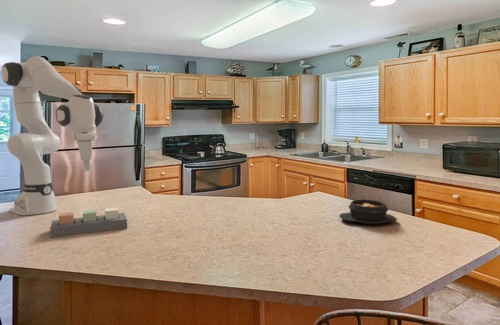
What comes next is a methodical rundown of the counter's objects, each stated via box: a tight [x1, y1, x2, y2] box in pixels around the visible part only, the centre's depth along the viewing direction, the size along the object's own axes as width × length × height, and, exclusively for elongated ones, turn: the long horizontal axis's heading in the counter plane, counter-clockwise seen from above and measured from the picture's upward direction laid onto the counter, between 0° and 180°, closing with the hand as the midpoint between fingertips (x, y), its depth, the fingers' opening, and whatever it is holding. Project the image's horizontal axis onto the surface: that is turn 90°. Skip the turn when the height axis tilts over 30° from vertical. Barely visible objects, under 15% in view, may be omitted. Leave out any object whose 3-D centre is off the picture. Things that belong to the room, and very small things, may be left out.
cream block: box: [104, 207, 119, 220], centre depth 148 cm, size 5×5×5 cm
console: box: [49, 212, 128, 239], centre depth 145 cm, size 28×11×4 cm, turn 116°
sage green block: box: [82, 209, 97, 223], centre depth 144 cm, size 5×5×5 cm
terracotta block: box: [58, 211, 75, 225], centre depth 141 cm, size 5×5×5 cm
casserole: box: [338, 199, 398, 226], centre depth 157 cm, size 25×19×8 cm
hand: (87, 169), depth 142 cm, fingers open, 8 cm apart
